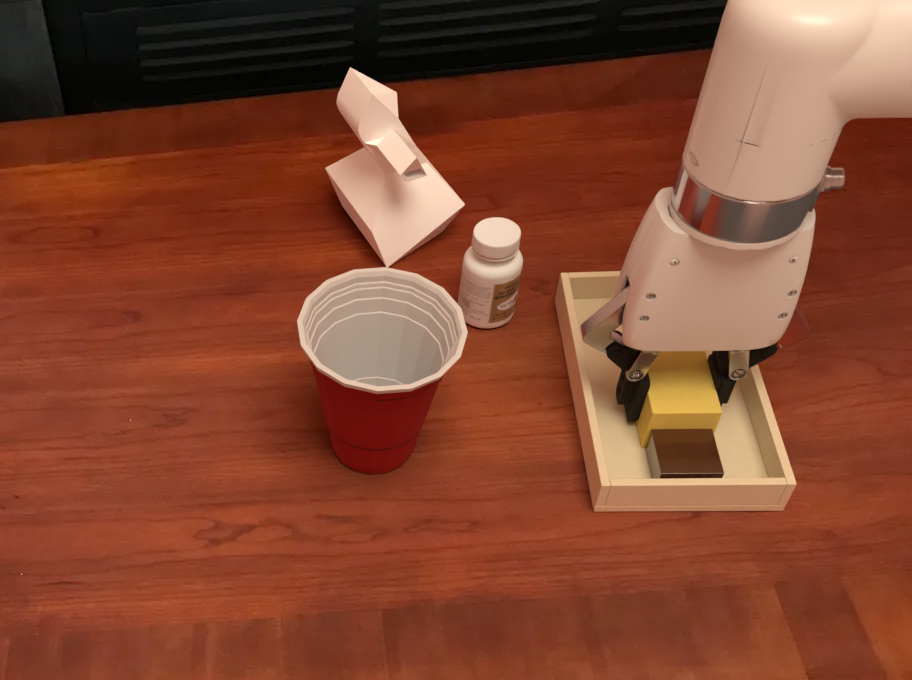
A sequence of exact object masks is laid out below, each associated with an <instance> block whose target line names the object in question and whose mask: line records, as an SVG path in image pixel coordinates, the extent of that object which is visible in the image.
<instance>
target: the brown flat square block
mask: <svg viewBox="0 0 912 680" xmlns="http://www.w3.org/2000/svg"><path fill="white" fill-rule="evenodd" d="M645 451H646V456H647V460H648V465H649V469H650V474H651V478H652V479H669V478H723V475H724V471H723V467H722V463H721V460H720V456H719V452H718V448H717V445H716V441H715V437H714V434H713V430H712V429H652V430H651V432H650V435H649V438H648V441H647V444H646V447H645Z"/></svg>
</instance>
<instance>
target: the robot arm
mask: <svg viewBox="0 0 912 680" xmlns="http://www.w3.org/2000/svg"><path fill="white" fill-rule="evenodd" d="M722 13H723V14H722V16H721V20H720V23H719V27H718V30H717V34H716V37H715V40H714V44H713V47H712V51H711V54H710V58H709V61H708V65H707V68H706V71H705V75H704V78H703V82H702V84H701V85H702V86H701V89H700V92H699V96H698V100H697V102H696V106H695V110H694V113H693V118H692V121H691V124H690V127H689V131H688V133H687V138H686V141H685V146H684V149H683V151H682V155H681V158H680V162H679V165H678V169H677V172H676V176H675V179H674V183H673V186H667V187H662V188H661V189H660V190H658V191H657V193H656V194H655V196H654V198H653V199H652V201H651V202H650V204H649V206H648V208H647V210H646V211H645V213H644V215H643V217H642V218H641V221H640V223H639V225H638V227H637V229H636V232H635V234H634V236H633V238H632V240H631V243H630V246H629V248H628V251H627V253H626V255H625V259H624V261H623V263H622V267H621V269H620V271H621V272H620V275H619V278H618V281H617V284H616V288H615V291H614V297H613V298H612V299H611V300H610V301H609V302H608V303H606V304H605V305H604V306H603V307H601V308H600V309H599V310H598V311H597V312H595V313H594V314H593V315H592V316H590V317H589V318H588V319H587V320H586V321H584V322H583V323H582V324H581V327H580V328H581V333H582V338H583V342H585V343H586V344H588V345H589V346H591V347H593V348H595V349H596V350H598V351H600V352H601V351H602V352H604V353H605V354H607V357H608V358H609V359H610V360H611V361H612V362H613V363H614V364H616V365H617V366H618V367H619V368H620V369H622V370H621V373H620V376H619V380H618V383H617V387H616V399H617V403H618V405H624V408H625V412H626V417H627V421H628V422H636V421H637V420H639V417H640V414H641V410H642V407H643V404H644V401H645V398H646V395H647V392H648V391H649V388H650V378H649V374H648V371H649V369H650V368H651V366H652V365H653V363H654V362H655V360H656V359H657V357H658V356H659V354H660V353H661V351H713V352H712V354H710V355H709V357H708V359H707V361H708V365H709V368H710V372H711V375H712V379H713V383H714V386H715V390H716V392H717V395H718V399H719V402H720V406H722V404H727V403H728V401H729V398H730V396H731V393H732V391H733V388H734V386H735V383H736V381H737V380H741V379H743V378H745V377H746V376H747V375H748V372H749V368H751V367H753V366H755V365H756V364H758V365H759V364H760V363H762V362H763V361H766V360H768V359H769V358H771V357H774V356H775V355H776V354H777V352H778V350H779V349H781V350H784V349H785V348H788V347H790V346H793V345H795V344H798V343H800V342H803V341H806V340H807V339H808V338H809V337H811V335H812V330H811V328H810V325H809V323H808V320H807V317H806V316H805V314H804V312H803V311H802V308H801V307H800V305H799V304H798V302H799V299H800V296H801V292H802V289H803V286H804V282H805V280H806V279H805V278H806V275H807V271H808V267H809V262H810V257H811V253H812V248H813V242H814V236H815V229H816V228H815V227H816V219H817V218H816V216H817V215H816V209H815V206H816V204H817V201H818V198H819V197H820V196H822V195H826V194H828V193H830V192H831V193H833V192H834V193H835V192H840V191H841V190H842V189H843V187H844V185H845V181H846V172H845V169H844V167H842V166H839V167H831V165H829V162H830V159H831V157H832V155H833V153H834V150H835V148H836V145H837V143H838V141H839V138H840V135H841V133H842V130H843V128H844V126H845V125H846V124H847V123H848V122H850V121H852V120H857V119H901V118H902V119H906V118H907V119H912V0H727V2H726V5H725V8H724V11H723V12H722ZM621 324H622V329H623V333H621V332H620V331H617V330H615V329H616V328H618V327H619V326H620V325H621Z"/></svg>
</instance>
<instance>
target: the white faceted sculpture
mask: <svg viewBox="0 0 912 680" xmlns="http://www.w3.org/2000/svg"><path fill="white" fill-rule="evenodd" d="M335 104H336V107H337V110H338V111H339V113H340V114H341V116H342V117H343V119H344V120H345V122H346V123H347V124H348V126H349V128H350V129H351V130H352V131H353V133H354V134H355V136H356V137H357V139H358V140H359V142H360V144H361V145H362V148H360V149H358V150H356V151H355V152H352V153H351V154H349V155H347V156H345V157H342V158H340V159H339V160H338V161H336V162H333V163H332V164H330V165H328V166H326V167H324V169H325V172H326V174H327V176H328V179H329V180H330V182H331V185H332V187H333V189H334V191H335V193H336V196H337V198H338V200H339V202H340V205H341V206H342V209H344V210H345V212H346V213H347V215H348V216H349V218H350V219H351V221H352V222H353V223H354V224H355V226H356V227H357V229H358V230H359V231H360V233H361V234H362V235H363V237H364V239H365V240H366V241H367V243H368V244H369V245H370V246H371V248H372V249H373V251H374V252H375V254H376V255H377V256H378V257H379V259H380V261H381V262H382V263H383V265H384V267H387V268H390V267H391V266H393V265H394V264H396V263H397V262H399V261H400V260H401V259H403V258H405V257H406V256H408V255H409V254H411V253H412V252H414V251H415V250H417V249H418V248H421V247H422V246H424V245H425V244H426V243H428V242H429V241H431V240H432V239H434V238H436V237H437V236H439V235H440V234H442V233H443V232H444V231H445V230H446V228H447V227H448V226H449V225H450V224H451V223H452V221H453V220H454V219H455V217H456V216H457V215H458V214H459V213H460V212H461V211H462V210H463V208H464V207H465V206H466V204H465V202H464V201H463V199H461V197H460V196H459V195H458V194H457V193H456V192H455V190H454V189H453V188H452V187H451V186H450V184H449V183H448V182H447V181H446V180H445V178H444V177H443V176H442V175H441V174H440V172H439V171H438V170H437V169H436V168H435V167H434V165H433V164H432V163H431V162H430V161H429V159H428V158H427V157H426V156H425V154H424V153H423V152H422V151H421V150H420V148H419V147H418V146H417V145H416V143H415V142H414V140H413V138H412V137H411V135H410V134H409V132H408V131H407V129H406V127H405V126H404V125H403V122H401V119H400V117H399V104H398V92H397V91H395V90H393V89H391V88H390V87H388V86H386V85H384V84H382V83H380V82H378V81H377V80H375V79H373V78H371V77H369V76H367V75H365V74H364V73H362V72H359V71H358V70H357V69H355V68H352V67H351V66H350V67H349V69H348V70H347V73H346V75H345V77H344V80H343V82H342V83H341V86H340V88H339V91H338V93H337V96H336V102H335Z"/></svg>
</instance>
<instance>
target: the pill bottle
mask: <svg viewBox="0 0 912 680" xmlns="http://www.w3.org/2000/svg"><path fill="white" fill-rule="evenodd" d="M521 238H522V231H521V227H520V225H518V224H517V223H516V222H515V221H513V220H511V219H509V218H505V217H499V216H494V217H493V216H491V217H487V218H484V219H482V220H480V221H479V222H477V224H475V226H474V227H473V231H472V237H471V245H470V246H469V247H468V248H467V250H466V251H465V253H464V255H463V258H462V265H461V272H460V273H461V275H460V281H459V288H458V296H457V297H458V298H457V304H458V305H459V306H460V307H461V309H462V312H463V316H464V320H465V324H468V325H469V326H471V327H475V328H479V329H495V328H499V327H502V326H504V325H506V324H507V323H508V322H510V321H511V320H512V318H513V316H514V314H515V309H516V303H517V298H518V294H519V288H520V283H521V277H522V271H523V265H524V257H523V254H522V252H521V250H520V245H521Z"/></svg>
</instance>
